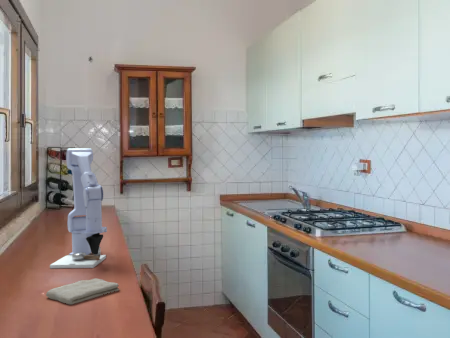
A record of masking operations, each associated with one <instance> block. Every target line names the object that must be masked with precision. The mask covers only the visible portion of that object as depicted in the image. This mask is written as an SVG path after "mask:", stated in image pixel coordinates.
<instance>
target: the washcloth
mask: <svg viewBox="0 0 450 338" xmlns="http://www.w3.org/2000/svg"><path fill="white" fill-rule="evenodd" d="M118 287H119V283H117V282H110V281H106V280H105V279H102V278H91V279H85V280H82V279H81V280H78V281H76V282H73V283H67V284H64V285H61V286H59V287H58V286H57V287H54V288H51V289H49V290H48V291H47V292H46V294H45V296H46V297H47V298H48V299H51V300H54V301H59V302H60V303H63V304H65V303H66V305H69V306H70V305H74V304H78V303H81V302H85V301H89V300H91V299H94V298H98V297H100V296H104V295H108V294H110V292H111V293H114V291H115V292H118V291H120V289H119V288H118ZM107 293H108V294H107ZM103 294H104V295H103Z"/></svg>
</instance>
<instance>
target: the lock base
mask: <svg viewBox="0 0 450 338" xmlns="http://www.w3.org/2000/svg"><path fill="white" fill-rule="evenodd" d="M105 259H107V254H101V255H100V258H99V259H83V260H72V255H69V254H68V255H64V256H63V257H61V258H59V259H58V260H56V261H55V262H52V263H51V264H49V268H50V269H94V268H95V267H96V266H98V265H99V264H101V263H102V262H103V261H104V260H105Z"/></svg>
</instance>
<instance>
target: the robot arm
mask: <svg viewBox="0 0 450 338" xmlns="http://www.w3.org/2000/svg"><path fill="white" fill-rule="evenodd" d="M65 159H66V168H67V169H68V170H71V171H70V172H71V174H72V175H71V176H72V191H73V192H72V193H73V206H74V207H73V210H70V212H69V213H68V214H67V223H66V224H67V230H68V232H69V233H71V246H72V247H71V249H72V250H71V251H72V252H69V254H68V255H72V254H73V253H77V252H85V253H86V255H94V254H98V250H99V247H100V244H101V242H102V240H103V238H104V234H102V233H107V232H108V229H107V226H103V214H102V201H103V200H104V188H103V185H101V184H99V183H98V178H97V176H96V174H95V172H93V171H92V167H91V164H92V162H93V160H94V152H93V149H92V148H90V147H89V148H87V147H85V148H84V147H83V148H79V147H78V148H77V147H75V148H70V147H69V148H67V149H66V153H65Z"/></svg>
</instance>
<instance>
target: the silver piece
mask: <svg viewBox="0 0 450 338" xmlns="http://www.w3.org/2000/svg"><path fill="white" fill-rule="evenodd" d="M101 252H102V251H101V247H100V246H99V250H98V254H88V255H86V253H85V252H77V253H73V254H72V260H83V259H99V258H100V255H102V253H101Z"/></svg>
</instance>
